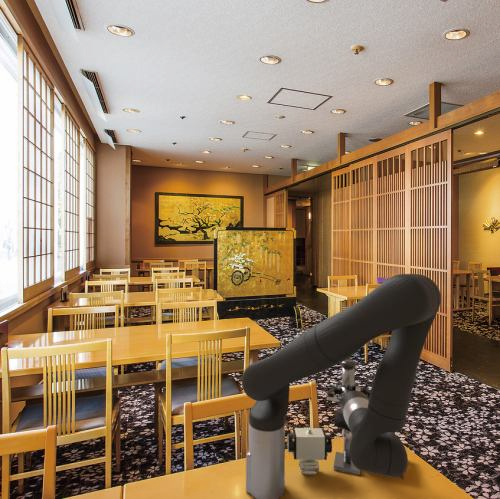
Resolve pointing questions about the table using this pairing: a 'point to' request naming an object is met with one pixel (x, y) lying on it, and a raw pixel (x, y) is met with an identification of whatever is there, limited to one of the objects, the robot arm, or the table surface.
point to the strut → (347, 383)
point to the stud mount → (345, 456)
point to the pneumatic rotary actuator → (309, 447)
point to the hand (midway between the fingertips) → (346, 384)
